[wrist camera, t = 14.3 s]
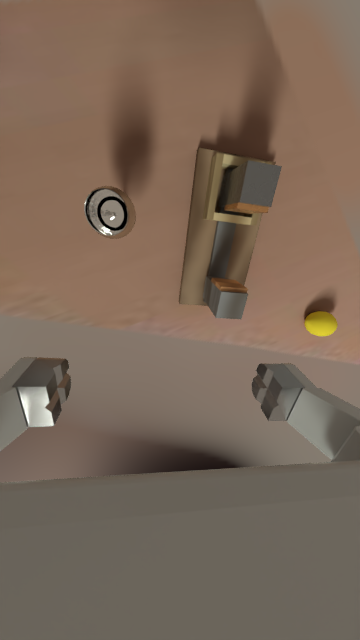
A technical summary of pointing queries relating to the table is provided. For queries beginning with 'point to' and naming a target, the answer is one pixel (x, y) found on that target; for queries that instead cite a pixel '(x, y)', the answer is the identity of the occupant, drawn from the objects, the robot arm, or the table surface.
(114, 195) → the wineglass
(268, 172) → the grey metal slab
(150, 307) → the table surface
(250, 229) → the rail
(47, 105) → the table surface
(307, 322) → the lemon
